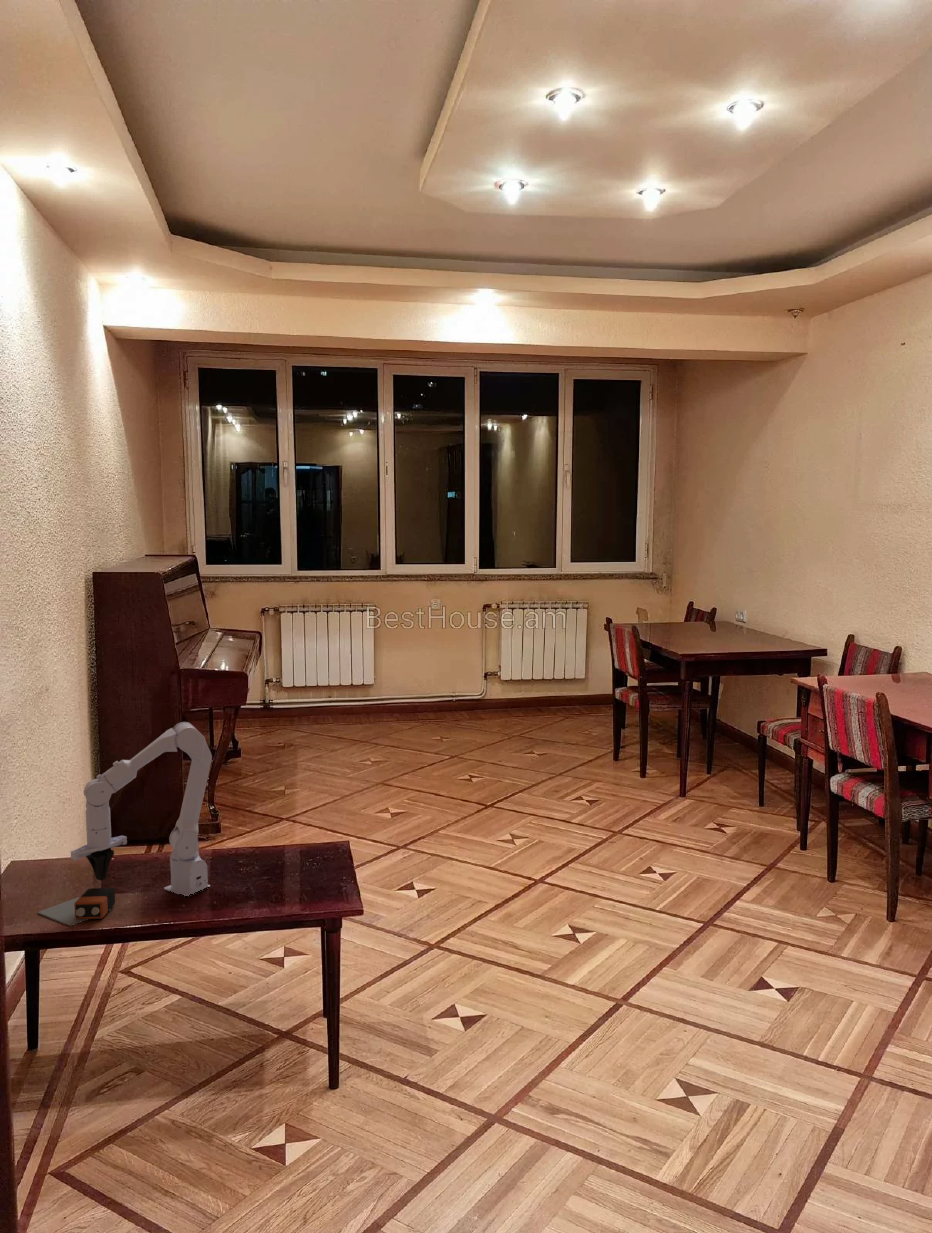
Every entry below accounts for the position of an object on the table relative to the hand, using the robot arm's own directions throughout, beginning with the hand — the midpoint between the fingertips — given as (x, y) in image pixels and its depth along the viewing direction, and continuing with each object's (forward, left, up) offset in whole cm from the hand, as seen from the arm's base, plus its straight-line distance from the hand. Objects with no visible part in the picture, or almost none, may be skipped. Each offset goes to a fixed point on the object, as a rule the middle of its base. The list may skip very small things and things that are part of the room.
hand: (100, 878), depth 220 cm
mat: (+1, +7, -6) cm, 9 cm away
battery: (-1, +1, -4) cm, 4 cm away
